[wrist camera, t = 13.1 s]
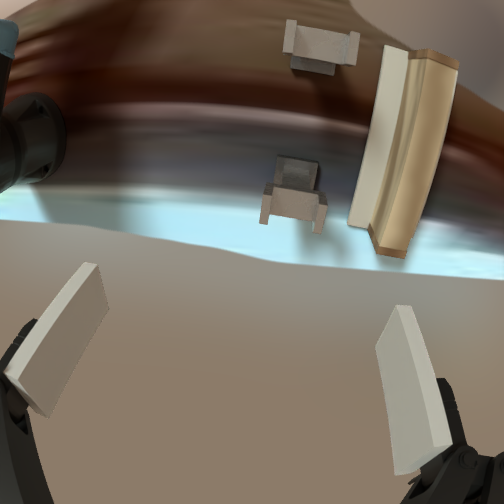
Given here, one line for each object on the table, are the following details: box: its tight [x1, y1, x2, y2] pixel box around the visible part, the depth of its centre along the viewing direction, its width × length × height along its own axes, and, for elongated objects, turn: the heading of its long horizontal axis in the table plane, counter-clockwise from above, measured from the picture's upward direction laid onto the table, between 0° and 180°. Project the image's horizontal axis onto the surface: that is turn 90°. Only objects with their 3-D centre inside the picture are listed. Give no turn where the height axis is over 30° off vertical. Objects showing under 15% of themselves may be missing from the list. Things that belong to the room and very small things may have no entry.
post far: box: [259, 155, 328, 234], centre depth 34 cm, size 6×5×11 cm
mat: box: [347, 45, 458, 238], centre depth 34 cm, size 10×24×1 cm, turn 174°
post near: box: [283, 19, 360, 76], centre depth 25 cm, size 6×5×11 cm
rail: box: [367, 49, 459, 259], centre depth 31 cm, size 4×24×6 cm, turn 173°
